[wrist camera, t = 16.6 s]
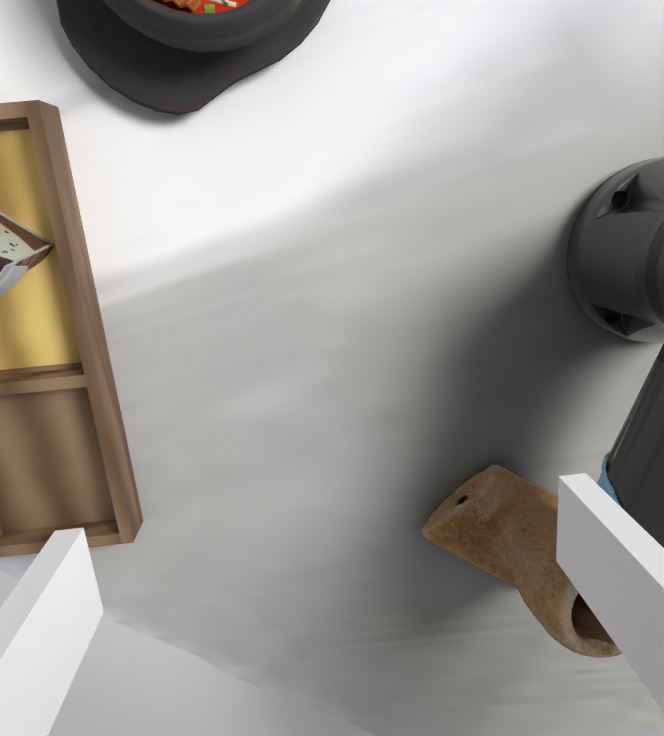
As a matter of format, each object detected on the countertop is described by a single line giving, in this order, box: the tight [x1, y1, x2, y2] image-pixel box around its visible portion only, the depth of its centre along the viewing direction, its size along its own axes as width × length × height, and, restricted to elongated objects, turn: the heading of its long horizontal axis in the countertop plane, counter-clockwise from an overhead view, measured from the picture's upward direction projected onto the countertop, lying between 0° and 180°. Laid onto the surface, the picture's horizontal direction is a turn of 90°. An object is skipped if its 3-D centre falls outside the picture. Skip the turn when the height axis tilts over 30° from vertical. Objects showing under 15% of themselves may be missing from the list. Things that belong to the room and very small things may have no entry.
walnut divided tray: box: [0, 100, 143, 557], centre depth 47 cm, size 13×36×4 cm, turn 5°
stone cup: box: [422, 465, 622, 658], centre depth 49 cm, size 15×12×15 cm
